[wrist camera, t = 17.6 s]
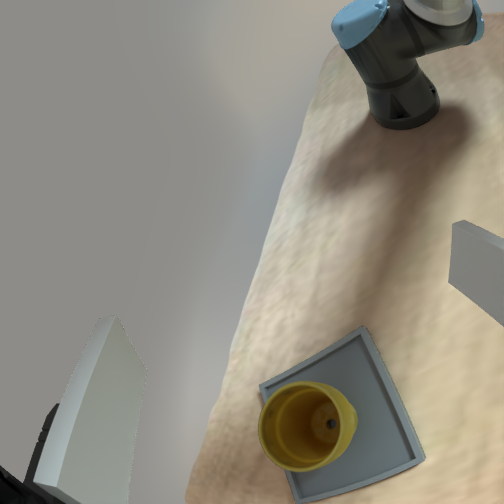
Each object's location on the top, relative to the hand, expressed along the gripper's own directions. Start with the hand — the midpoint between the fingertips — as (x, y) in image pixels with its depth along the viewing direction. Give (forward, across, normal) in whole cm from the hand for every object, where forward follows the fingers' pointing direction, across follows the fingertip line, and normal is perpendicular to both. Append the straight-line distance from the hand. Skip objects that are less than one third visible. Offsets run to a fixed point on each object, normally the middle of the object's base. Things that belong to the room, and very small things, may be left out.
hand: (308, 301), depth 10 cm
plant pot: (+12, +4, -29) cm, 32 cm away
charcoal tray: (+13, +5, -30) cm, 32 cm away
